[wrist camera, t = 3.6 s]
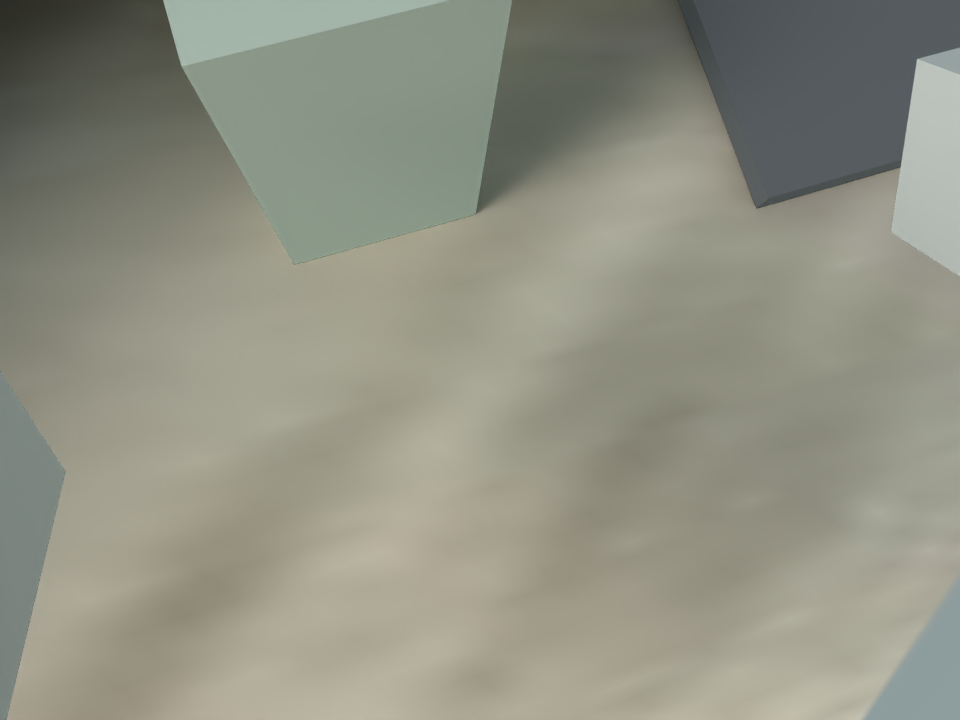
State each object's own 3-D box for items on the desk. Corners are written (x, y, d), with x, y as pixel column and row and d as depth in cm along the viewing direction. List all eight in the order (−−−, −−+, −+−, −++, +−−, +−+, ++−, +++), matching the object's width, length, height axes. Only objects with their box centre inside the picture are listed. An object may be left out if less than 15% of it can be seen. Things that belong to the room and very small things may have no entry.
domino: (294, 264, 21) (181, 66, 12) (274, 195, 22) (147, -57, 12) (475, 214, 22) (514, -16, 12) (453, 147, 22) (474, -132, 12)
